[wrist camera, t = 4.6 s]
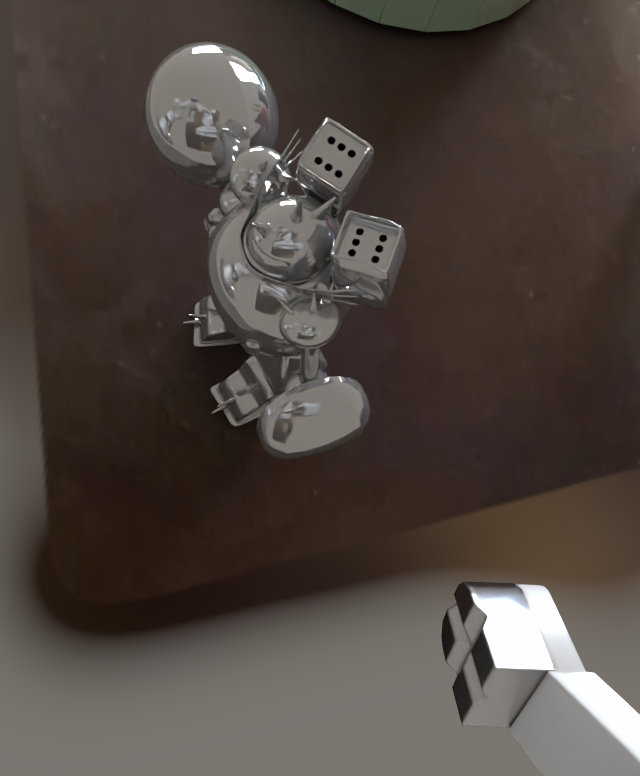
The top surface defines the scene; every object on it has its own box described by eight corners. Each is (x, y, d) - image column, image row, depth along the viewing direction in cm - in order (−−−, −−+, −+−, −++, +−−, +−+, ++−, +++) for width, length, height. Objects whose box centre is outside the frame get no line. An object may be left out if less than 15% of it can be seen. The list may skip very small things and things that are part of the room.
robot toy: (143, 202, 29) (56, -97, 14) (261, 174, 30) (291, -126, 16) (234, 485, 27) (240, 474, 12) (355, 444, 28) (489, 389, 14)
